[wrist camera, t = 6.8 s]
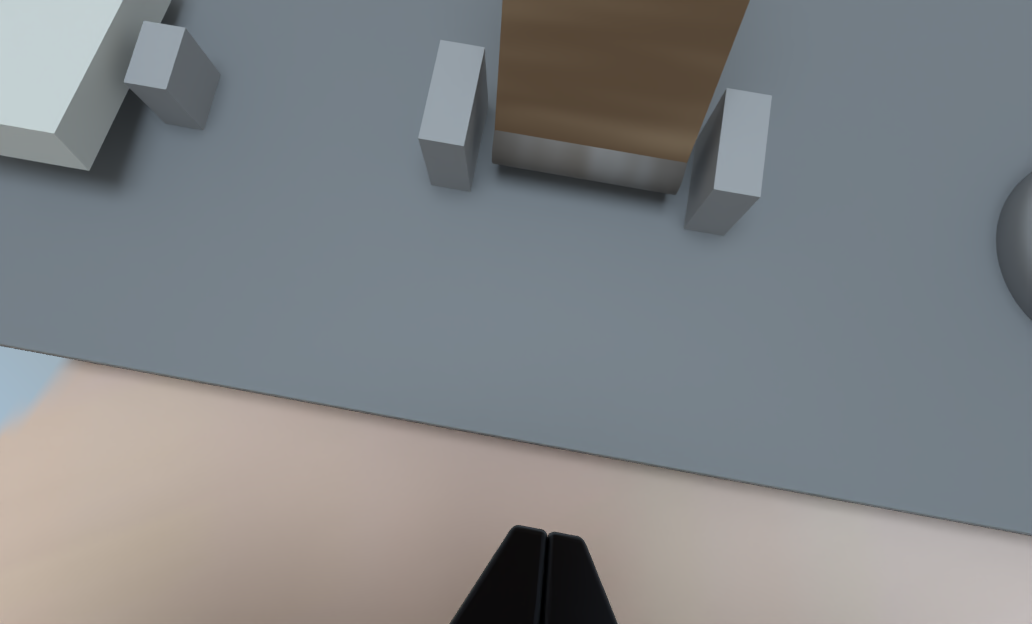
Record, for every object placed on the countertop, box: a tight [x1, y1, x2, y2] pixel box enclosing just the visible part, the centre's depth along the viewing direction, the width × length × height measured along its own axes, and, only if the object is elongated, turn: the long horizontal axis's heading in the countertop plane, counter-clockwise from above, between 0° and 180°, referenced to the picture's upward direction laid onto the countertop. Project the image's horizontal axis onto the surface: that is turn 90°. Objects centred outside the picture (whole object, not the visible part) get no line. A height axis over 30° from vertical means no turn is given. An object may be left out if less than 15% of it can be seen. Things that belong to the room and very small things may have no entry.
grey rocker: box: [0, 0, 171, 171], centre depth 16 cm, size 6×4×1 cm, turn 170°
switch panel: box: [0, 0, 1032, 536], centre depth 17 cm, size 14×38×4 cm, turn 80°
